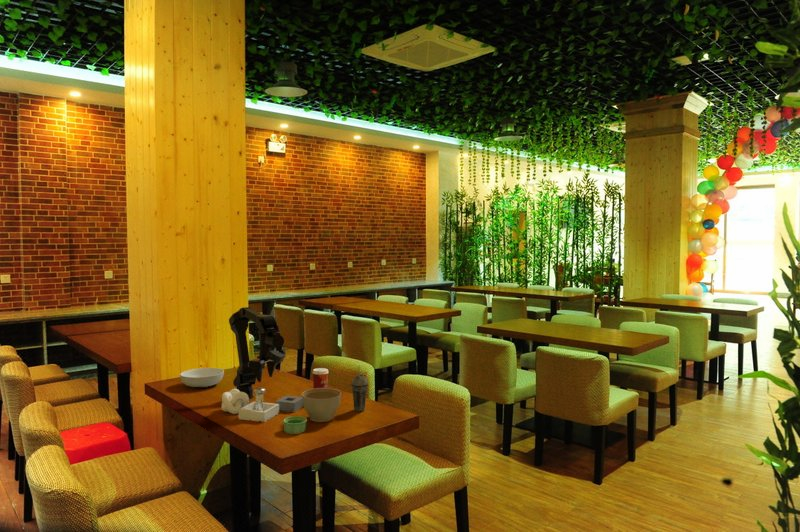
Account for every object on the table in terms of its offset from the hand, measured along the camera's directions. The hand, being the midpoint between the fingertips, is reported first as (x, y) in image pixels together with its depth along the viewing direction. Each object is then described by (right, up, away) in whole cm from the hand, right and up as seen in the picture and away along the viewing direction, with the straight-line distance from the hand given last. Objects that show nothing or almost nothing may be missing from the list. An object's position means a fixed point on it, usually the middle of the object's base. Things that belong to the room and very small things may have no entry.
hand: (265, 379), depth 238 cm
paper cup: (+22, -13, +15) cm, 29 cm away
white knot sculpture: (-13, -13, -5) cm, 19 cm away
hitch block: (+11, -13, 0) cm, 17 cm away
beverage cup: (+42, -14, -1) cm, 44 cm away
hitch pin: (0, -12, -12) cm, 17 cm away
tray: (0, -13, -12) cm, 17 cm away
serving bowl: (-41, -11, +35) cm, 55 cm away
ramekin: (+19, -14, -28) cm, 37 cm away
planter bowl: (+27, -14, -14) cm, 33 cm away
